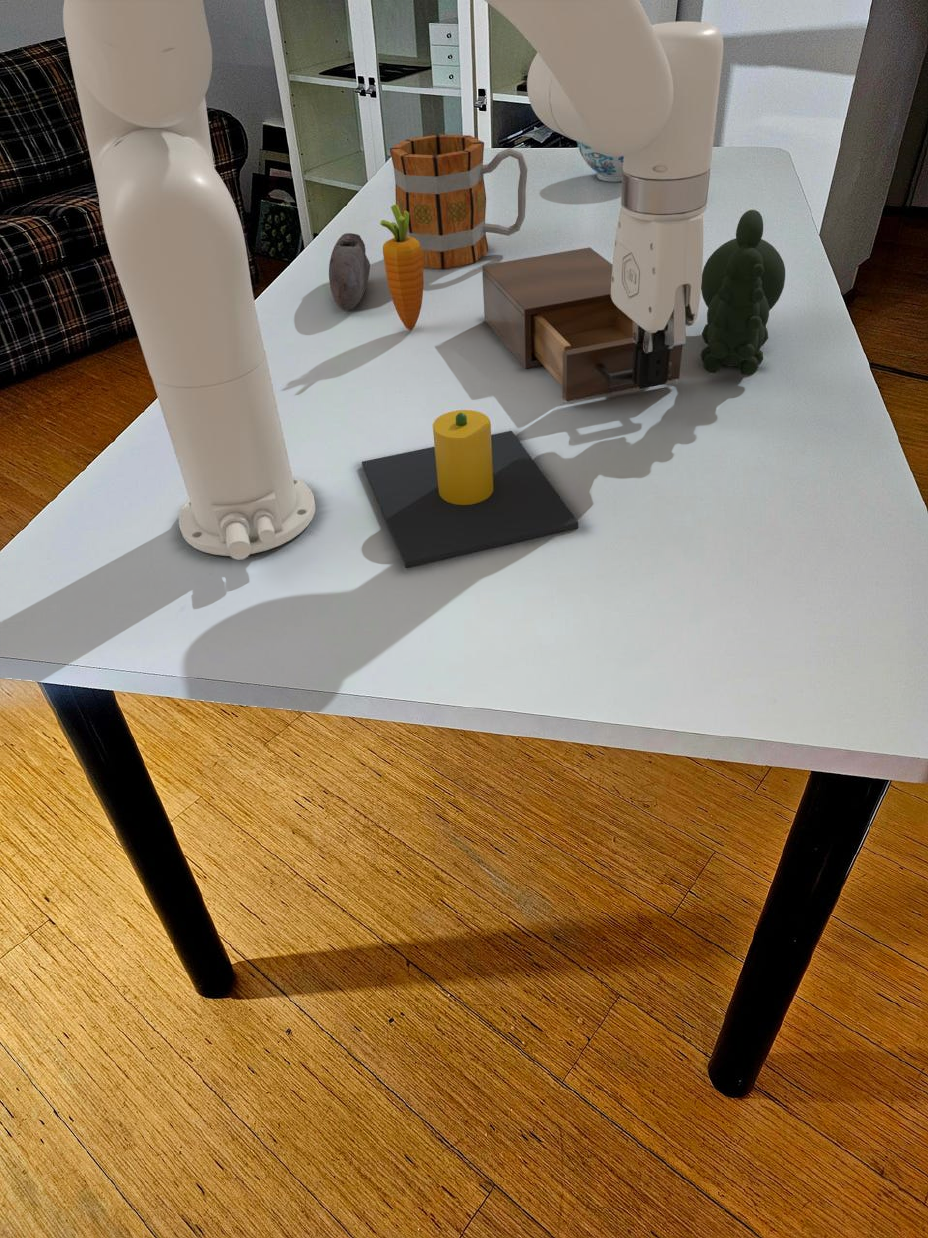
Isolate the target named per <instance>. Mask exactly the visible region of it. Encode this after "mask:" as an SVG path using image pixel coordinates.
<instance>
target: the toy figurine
mask: <svg viewBox="0 0 928 1238" xmlns="http://www.w3.org/2000/svg"><path fill="white" fill-rule="evenodd" d="M763 219H764V218H763V216H762V214H761V213H760V212H759V211H758V210H757V209H748V210H747V211H745V212H744V213H743V214H742V215H741V217H740V219H739V221H738V223H737V226H736V231H735V238H732V239H729V240H727V241H726V242H724V243H723V244H722V245H720V246H719V247H717V249H715V250H714V251H713V252H712V253H711V255H710V256H709V257H708V258H707V261H706V262H705V264H704V266H703V268H702V284H701V296H702V298H703V302H704V304H705V305H706V308H707V312H706V323H707V324H705V326H704V327H703V329H702V332H701V337H702V340H703V342H704V343H705V344H706V345H707V346H706V347H705V346H704V347H703V348H702V351H701V352H700V354H699V355H700V359H701V361H702V365H703V369H704V370H705V372H707V373H709V374H710V373H711V374H716V373H718V372H719V371H720V370H721V368H722V367H723V366H726V367H738V369H739V372H740V374H742V375H743V376H752V375H753V374H755V373H756V372H757V371H758V369H759V366H760V365H761V363H762V362H763V361H764V352H763V351H762V350H761V348H762V347H763V346H764V345H765V343H766V342H767V341H768V339H769V332H768V328H767V323H768V321H769V318H770V311H771V310H772V309H773V308H774V307H775V305H776V304H777V303H778V302H779V300H780V298H781V296H782V293H783V291H784V287H785V282H786V266H785V263H784V260H783V258H782V256H781V254H780V252H779V251H778V250H777V249H776V248H775V247H774V246H773V245H772V244H771V243H769V242H768V241H766V240H764V239H762V238H763V235H764V220H763Z"/></svg>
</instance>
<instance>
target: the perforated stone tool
mask: <svg viewBox="0 0 928 1238" xmlns="http://www.w3.org/2000/svg"><path fill="white" fill-rule="evenodd" d="M370 270H371V263H370V260H369V258H368V257H367V254H366V244H365V242H364V240H363V239H362V238H361V235H359V234H357V233H351V232H346V233H343V234H342V235H341V236H340V237H339V238H338V239H337V241H336V243H335V244H334V247H333V249H332V252H331V255H330V258H329V264H328V282H329V287H330V292H331V295H332V297H333V299H334V301H335V302H336V305H337V306H338V308H340V310H342V311H343V312H349V311H351V310H353V309H354V308H355V307H357V306H358V305H359V303H360V302H361V300H362V298H363V297H364V293H365V292H366V289H367V285H368V282H369V279H370Z"/></svg>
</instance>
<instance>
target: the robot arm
mask: <svg viewBox="0 0 928 1238" xmlns="http://www.w3.org/2000/svg"><path fill="white" fill-rule="evenodd" d="M483 1H484V2H486V3H487V4H488V5H490V6H491V7H492V8H493V9H494V10H496V11H498V13H500V14H501V15H503V17H504V18H506V19H507V20H508V21H509V22H510V23H511V24H512V25H513V26H514V27H515V28H516V29H517V30H518V32H520V34H521V35H522V36H523V37H524V38H525V40H527V41H528V43H529V44H530V45H531V46H532V48H533V49H534V50H535V52H536V54H535V56H534V57H533V59H532V61H531V64H530V66H529V70H528V73H527V80H526V91H527V97H528V101H529V104H530V107H531V108H532V111H533V112H534V114H535V116H536V117H537V118H538V119H539V120H540V122H542V123H543V125H545V126H546V127H547V128H549V129H550V130H552V131H553V132H555V133H558V134H560V135H562V136H564V137H566V138H568V139H569V140H572V141H575V142H577V141H578V142H580V143H582V144H584V145H586V146H589V147H591V148H593V149H595V150H597V151H599V152H601V153H603V154H606V155H610V156H617V157H618V156H624V157H623V176H622V181H621V195H620V196H621V197H620V209H619V213H618V214H619V215H618V219H617V224H616V232H615V239H614V246H613V247H614V248H613V257H612V265H613V267H612V279H611V299H612V301H613V303H614V304H615V305H616V306H617V307H618V308H619V309H620V310H621V311H622V312H624V313H625V314H626V315H627V316H628V317H629V318H631V319H632V337H633V342H634V343H635V344H638V345H635V346H634V356H633V371H632V381H633V382H634V383H635V384H637V386H638V387H637V388H638V389H640V390H642V389H643V390H644V389H647V388H652V387H657V386H663V385H666V384H667V383H668V381H667V380H668V370H669V359H670V349H672V348H673V346H678V345H683V346H684V345H685V344H686V342H687V328H686V327H690V326H693V325H694V324H695V323H696V321H697V318H698V315H699V314H698V313H699V309H700V301H701V296H702V291H701V284H702V273H703V269H704V266H703V265H704V215H703V213H705V211H706V210H707V206H708V205H707V204H708V198H709V197H708V195H709V187H710V179H711V167H712V160H713V159H712V158H713V150H714V140H715V131H716V123H717V114H718V105H719V95H720V87H721V86H720V85H721V84H720V83H721V78H722V77H721V76H722V68H723V60H724V38H723V35H722V33H721V31H720V29H719V28H718V27H717V26H715V25H713V24H710V23H707V22H702V21H701V22H700V21H690V20H689V21H688V20H686V21H685V20H684V21H683V20H682V21H667V22H661V23H654V24H652V23H651V21H650V18H649V17H648V16H647V13H646V11H645V9H644V7H643V5H642V3H641V2H640V0H483ZM204 5H205V4H204V0H63V9H62V24H63V31H64V37H65V41H66V47H67V51H68V55H69V61H70V66H71V70H72V75H73V80H74V84H75V90H76V95H77V99H78V104H79V109H80V115H81V119H82V124H83V128H84V133H85V137H86V142H87V147H88V152H89V156H90V161H91V166H92V171H93V175H94V181H95V186H96V191H97V195H98V204H99V211H100V215H101V222H102V227H103V231H104V235H105V241H106V243H107V247H108V250H109V253H110V258H111V261H112V264H113V267H114V269H115V272H116V275H117V278H118V282H119V284H120V286H121V290H122V293H123V295H124V298H125V301H126V304H127V307H128V310H129V313H130V316H131V319H132V322H133V325H134V328H135V331H136V335H137V337H138V342H139V345H140V347H141V351H142V355H143V357H144V360H145V364H146V366H147V369H148V373H149V376H150V378H151V380H152V384H153V387H154V390H155V393H156V397H157V399H158V403H159V406H160V408H161V409H160V410H161V413H162V416H163V419H164V423H165V425H166V429H167V433H168V436H169V438H170V442H171V445H172V448H173V451H174V454H175V455H174V456H175V459H176V460H177V464H178V467H179V470H180V474H181V477H182V480H183V483H184V486H185V490H186V493H187V496H188V500H187V502H185V504H183V507H182V508H181V510H180V511H179V516H178V526H179V530H180V532H181V535H182V537H183V539H184V540H185V542H186V543H187V544H189V545H190V546H191V547H193V549H196V550H199V551H200V552H203V553H207V554H209V555H215V556H223V557H230V558H232V559H234V560H237V561H239V560H240V561H241V560H245V559H247V558H248V557H249V556H250V555H254V554H258V553H262V552H267V551H269V550H271V549H274V548H277V547H280V546H282V545H284V544H285V543H288V542H289V541H291V540H293V539H294V538H295V537H297V536H298V535H300V534H301V533H302V532H303V531H304V530H305V529H306V528H307V527H308V526H309V524H311V522H312V521H313V519H314V516H315V513H316V501H315V497H314V493H313V491H312V489H311V488H310V486H308V485H307V484H306V483H305V482H303V481H302V480H300V479H298V478H297V477H294V476H293V472H292V469H291V464H290V459H289V455H288V450H287V445H286V441H285V440H286V439H285V437H284V431H283V426H282V422H281V418H280V412H279V408H278V404H277V399H276V395H275V390H274V386H273V381H272V375H271V371H270V368H269V363H268V362H269V361H268V358H267V353H266V349H265V346H264V345H265V344H264V341H263V336H262V331H261V327H260V323H259V322H260V321H259V318H258V312H257V307H256V303H255V296H254V291H253V286H252V279H251V271H250V265H249V259H248V250H247V245H246V240H245V239H246V238H245V235H244V230H243V226H242V222H241V219H240V215H239V213H238V210H237V207H236V204H235V202H234V199H233V197H232V195H231V193H230V191H229V190H228V187H227V185H226V184H225V182H224V180H223V179H222V177H221V176H220V174H219V172H218V171H217V170H216V167H215V163H214V157H213V156H214V155H213V149H212V141H211V134H210V125H209V117H208V111H207V101H206V94H207V91H208V89H209V87H210V82H211V77H212V73H213V48H212V42H211V35H210V31H209V26H208V21H207V16H206V11H205V6H204ZM663 329H665V330H663Z"/></svg>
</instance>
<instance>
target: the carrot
mask: <svg viewBox="0 0 928 1238" xmlns="http://www.w3.org/2000/svg"><path fill="white" fill-rule="evenodd" d="M390 209H391V212H392V214H393V216H394V219H395V222H394V221H391V222H390V221H388V220H386V219H385V220H384V219H381V220H380V223H379V224H380V226H382V227H384V228H386V229H388V230H389V232H390V233H392V235H393V237H391V238H390V239H388V240H386V241H385V242H384V244H383V245H382V255H383V256H382V257H383V262H384V270H385V276H386V282H387V285H388V290H389V293H390V296H391V299H392V302H393V305H394V308H395V311H396V313H397V316H398V317H399V319H400V321H401V322H402V324H403V326H404V328H406V329H407V330H408V331H412V330H413V329H414V328H415V327H416V325H417V323H418V320H419V317H420V313H421V309H422V305H423V297H424V296H423V295H424V282H425V281H424V267H423V260H422V249H421V246H420V244H419V242H418V240H417V239H415V238H413V237H407V236H406V234H407V230H408V225H409V213H408V212H407V211H404V217H402V215H401V212H400V210H399V208H398V206H397V205H396V204H392V205H391V206H390Z"/></svg>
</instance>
